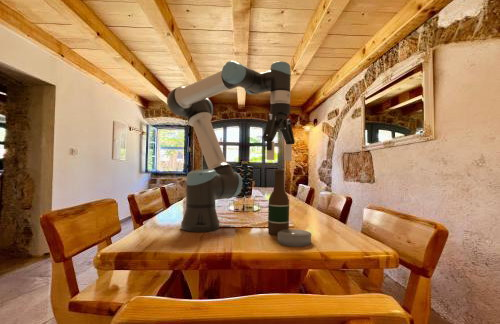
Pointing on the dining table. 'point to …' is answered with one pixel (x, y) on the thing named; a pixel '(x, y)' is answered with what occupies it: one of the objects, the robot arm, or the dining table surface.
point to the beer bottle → (278, 206)
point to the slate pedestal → (294, 237)
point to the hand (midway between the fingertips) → (279, 160)
